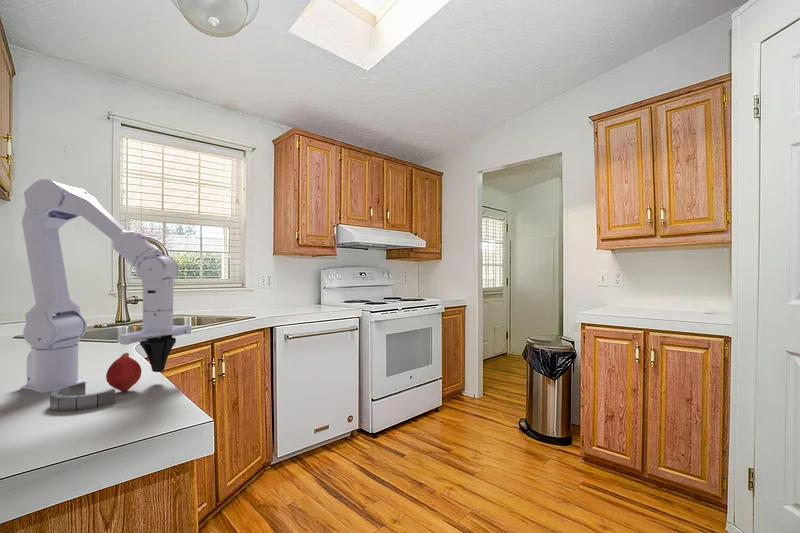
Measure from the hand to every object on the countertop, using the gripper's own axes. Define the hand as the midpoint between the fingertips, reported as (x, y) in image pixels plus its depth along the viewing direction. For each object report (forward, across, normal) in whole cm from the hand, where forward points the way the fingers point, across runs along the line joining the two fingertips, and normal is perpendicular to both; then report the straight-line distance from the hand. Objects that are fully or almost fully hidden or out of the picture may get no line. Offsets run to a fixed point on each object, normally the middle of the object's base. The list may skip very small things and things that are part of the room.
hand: (158, 371), depth 84 cm
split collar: (+2, -13, 0) cm, 13 cm away
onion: (+3, -7, 0) cm, 7 cm away
